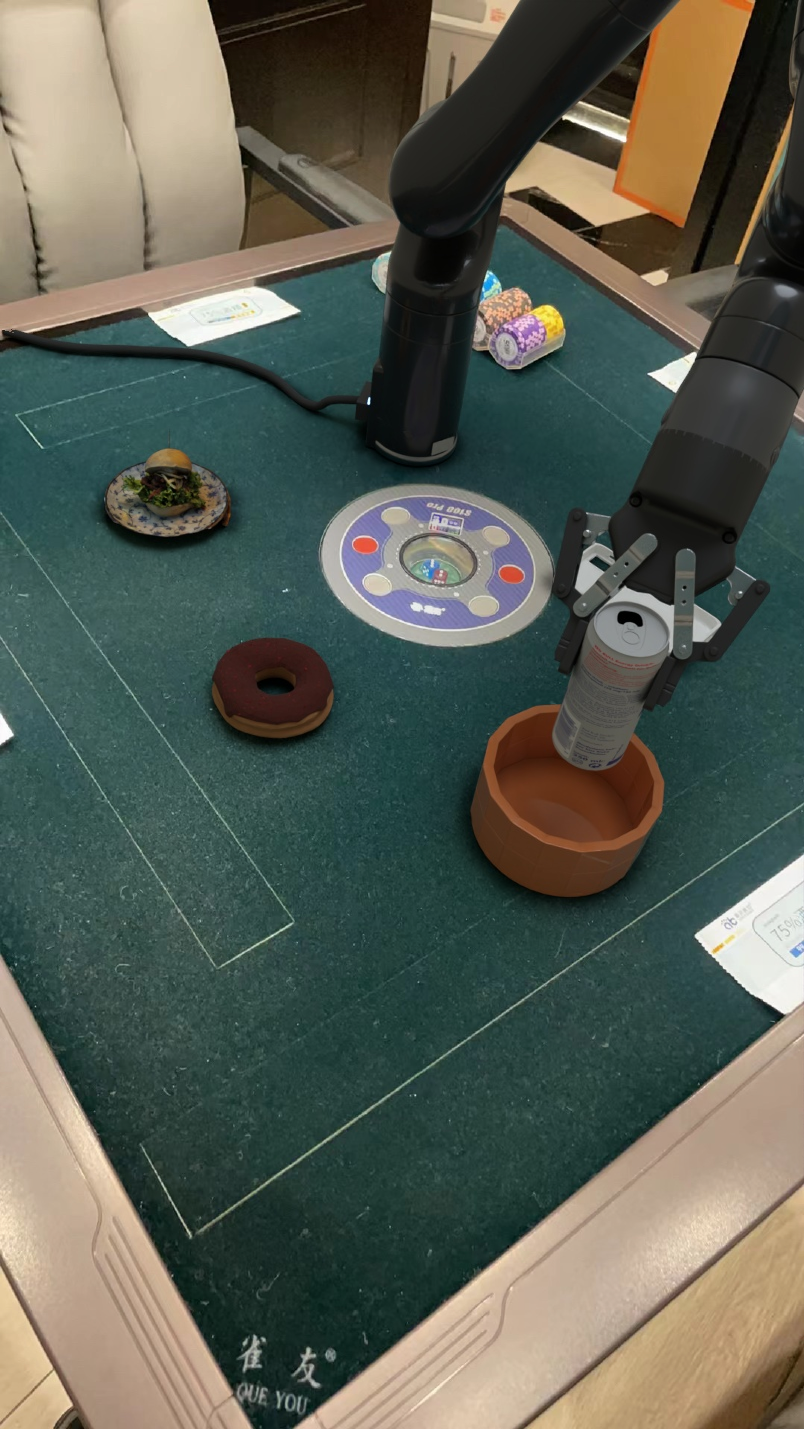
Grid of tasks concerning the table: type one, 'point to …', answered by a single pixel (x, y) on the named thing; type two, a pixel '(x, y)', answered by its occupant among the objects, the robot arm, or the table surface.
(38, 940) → the table surface
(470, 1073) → the table surface
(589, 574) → the phone case
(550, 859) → the bowl
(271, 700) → the donut
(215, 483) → the burger
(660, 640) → the energy drink
